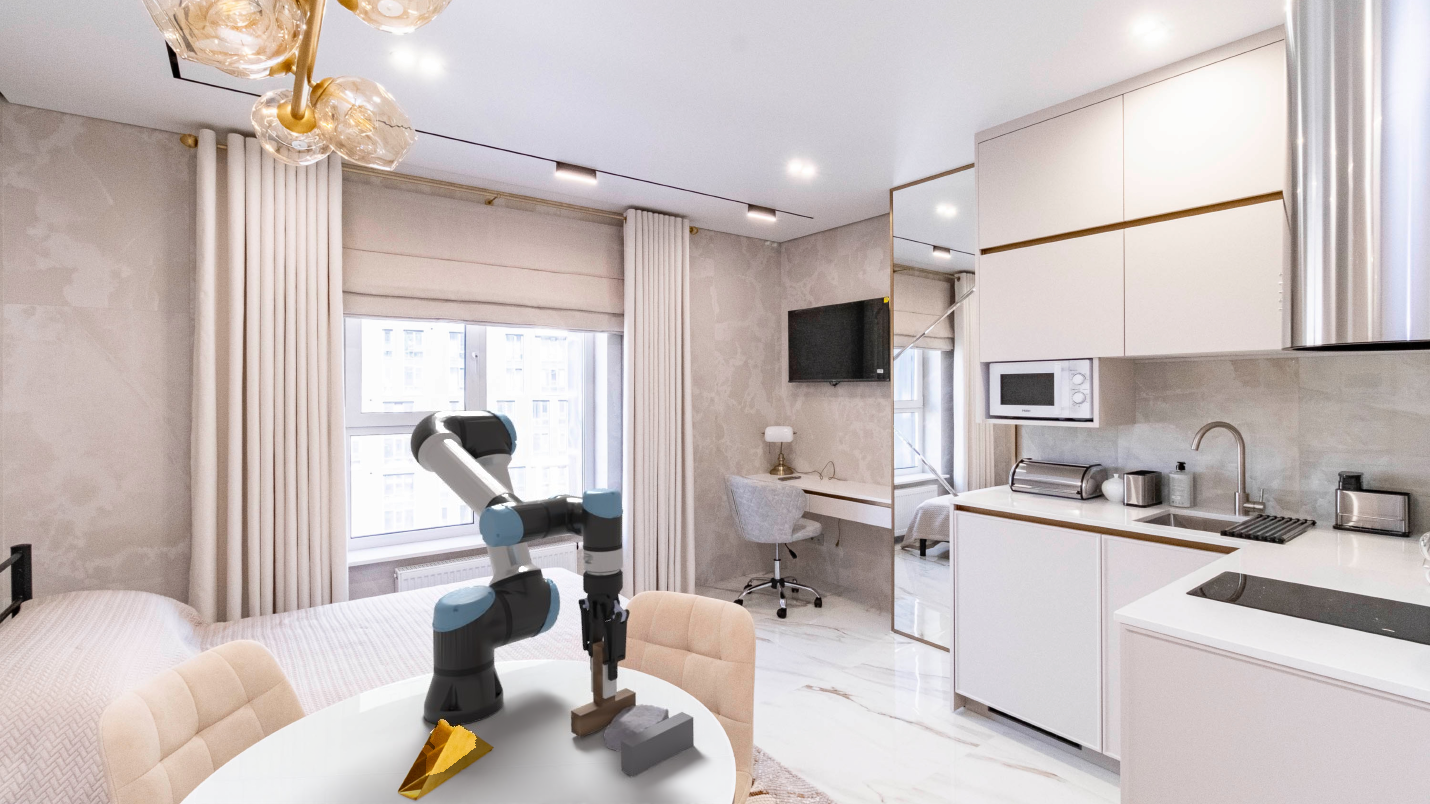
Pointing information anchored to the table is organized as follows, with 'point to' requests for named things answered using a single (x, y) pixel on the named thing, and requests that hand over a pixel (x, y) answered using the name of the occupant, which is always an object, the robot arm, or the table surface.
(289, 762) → the table surface
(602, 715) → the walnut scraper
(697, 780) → the table surface
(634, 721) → the stone block
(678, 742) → the block
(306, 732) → the table surface
